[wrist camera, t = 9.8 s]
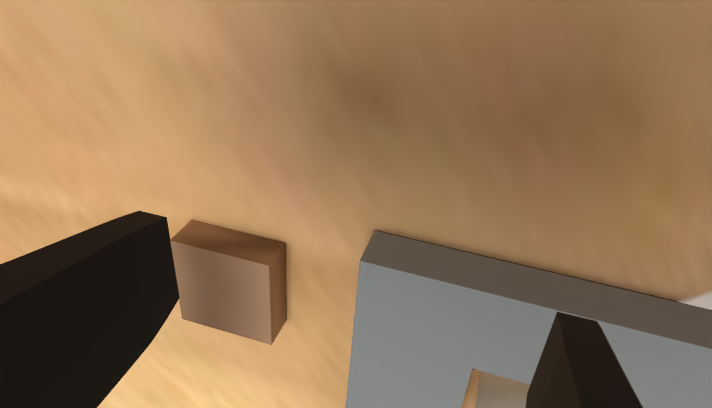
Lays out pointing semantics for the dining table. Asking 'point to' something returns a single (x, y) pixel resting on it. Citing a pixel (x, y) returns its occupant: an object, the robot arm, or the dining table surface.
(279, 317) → the short block
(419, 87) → the dining table surface
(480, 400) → the peg
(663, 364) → the board
